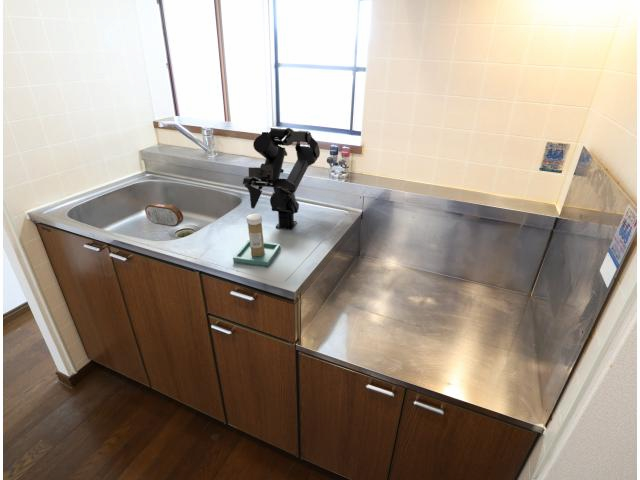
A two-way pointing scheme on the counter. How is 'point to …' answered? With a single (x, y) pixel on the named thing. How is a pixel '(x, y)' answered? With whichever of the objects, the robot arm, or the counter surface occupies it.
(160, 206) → the tin
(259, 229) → the sprinkles bottle
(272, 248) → the teal tray
